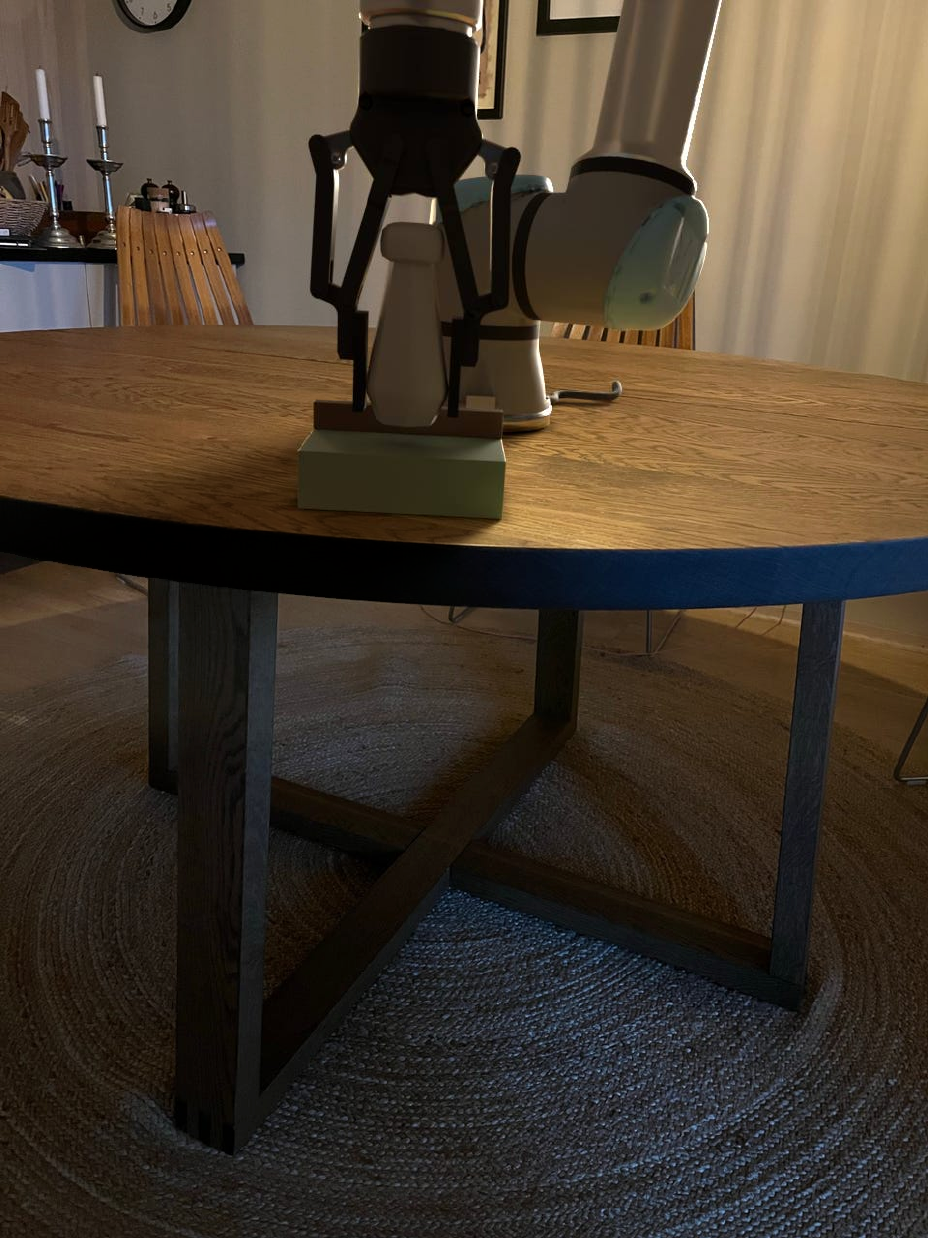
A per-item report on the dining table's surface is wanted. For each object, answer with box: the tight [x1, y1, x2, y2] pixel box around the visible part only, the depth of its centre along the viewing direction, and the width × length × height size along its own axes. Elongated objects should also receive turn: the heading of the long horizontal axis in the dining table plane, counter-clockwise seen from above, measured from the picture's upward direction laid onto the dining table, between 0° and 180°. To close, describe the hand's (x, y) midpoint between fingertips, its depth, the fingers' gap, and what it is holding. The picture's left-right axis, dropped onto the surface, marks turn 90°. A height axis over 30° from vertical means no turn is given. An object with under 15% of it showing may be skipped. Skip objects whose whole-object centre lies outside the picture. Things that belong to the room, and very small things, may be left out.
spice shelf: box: [297, 399, 507, 520], centre depth 71 cm, size 9×14×6 cm, turn 90°
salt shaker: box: [366, 221, 449, 427], centre depth 68 cm, size 6×6×13 cm
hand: (406, 410), depth 70 cm, fingers closed on salt shaker, 6 cm apart
